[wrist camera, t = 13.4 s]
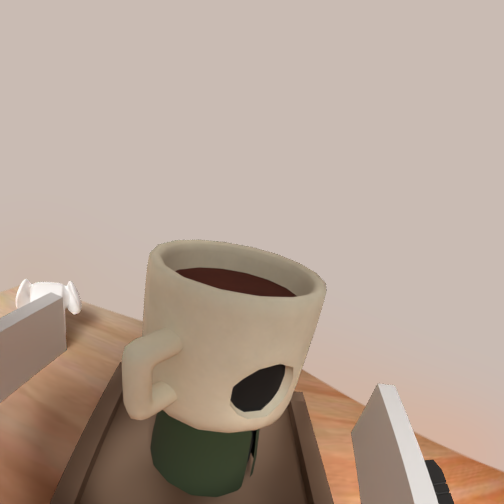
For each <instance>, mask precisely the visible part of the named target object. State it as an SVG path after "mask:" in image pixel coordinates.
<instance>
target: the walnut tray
mask: <svg viewBox="0 0 504 504" xmlns="http://www.w3.org/2000/svg"><path fill="white" fill-rule="evenodd" d="M156 415H157V413H156V414H155V415H153V416H151V417H150V418H147V419H144V420H136V419H131V418H130V416H129V414H128V412H127V410H126V407H125V405H124V402H123V386H122V362H120V364H119V365H118V367H117V369H116V371H115V373H114V374H113V376H112V378H111V380H110V382H109V383H108V385H107V387H106V389H105V391H104V393H103V395H102V396H101V398H100V400H99V402H98V404H97V406H96V408H95V410H94V412H93V414H92V416H91V417H90V419H89V421H88V423H87V425H86V427H85V429H84V431H83V433H82V435H81V437H80V439H79V441H78V443H77V445H76V447H75V450H74V452H73V454H72V456H71V458H70V460H69V462H68V464H67V466H66V468H65V471H64V473H63V475H62V477H61V479H60V482H59V484H58V486H57V488H56V491H55V493H54V495H53V497H52V500H51V502H50V504H334V502H333V499H332V495H331V491H330V488H329V484H328V481H327V477H326V473H325V470H324V466H323V463H322V459H321V456H320V452H319V449H318V445H317V441H316V438H315V434H314V431H313V427H312V424H311V420H310V417H309V413H308V410H307V406H306V403H305V399H304V396H303V392H293V395H292V398H291V400H290V402H289V404H288V406H287V407H286V409H285V411H284V412H283V414H282V415H281V416H280V418H279V419H278V420H276V421H275V422H274V423H273V424H271V425H268V426H266V427H263V428H260V431H259V439H258V448H257V456H256V461H255V465H254V470H253V474H252V475H251V477H250V473H251V469H252V464H253V459H254V458H253V456H252V454H250V458H249V461H248V463H247V467H246V471H245V475H244V479H243V483H242V487H241V488H240V489H239V490H238V491H235V492H232V493H229V494H226V495H223V496H219V497H206V496H194V495H190V494H188V493H186V492H184V491H182V490H181V489H179V488H177V487H175V486H174V485H172V484H170V483H168V482H167V481H166V479H165V478H164V477H163V476H162V475H161V474H160V472H159V471H158V470H157V469H156V468H155V467H154V465H153V460H152V455H151V449H150V447H151V440H152V433H153V428H154V424H155V419H156Z"/></svg>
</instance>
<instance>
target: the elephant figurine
mask: <svg viewBox="0 0 504 504" xmlns="http://www.w3.org/2000/svg"><path fill="white" fill-rule="evenodd" d="M50 292H52V293H54V294H57V295H59V296H61V297H63V311H64V325H65V335H66V322H65V309H66V308H68V310H69V311H70V312H71V313H73V314H74V315H75V314H78V313H80V311H81V307H82V305H81V300H80V296H79V294H78V291H77V289H76V287H75V286H74V284H73V283H72V282H71V281H69V282H68V285H66V286H65V285H63V284H61V283H56V282H37V283H35V284H32V283H30V281H29V280H27V279H24V280H23V281H22V283H21V285H20V287H19V289H18V291H17V295H16V307H17V309H19V308H21V307H22V306H24V305H26V304H28V303H30V302H32V301H34V300H36V299H38V298H40V297H42V296H44V295H46V294H48V293H50Z"/></svg>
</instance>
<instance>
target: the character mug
mask: <svg viewBox="0 0 504 504" xmlns="http://www.w3.org/2000/svg"><path fill="white" fill-rule="evenodd" d="M325 295H326V283H325V282H324V281H323V280H322V279H321V278H320V276H319V275H317V273H315V272H313V271H312V270H310V269H308V268H307V267H305V266H303V265H302V264H300V263H298V262H295V261H293V260H290V259H288V258H285V257H283V256H281V255H278V254H275V253H271V252H267V251H264V250H260V249H257V248H253V247H249V246H243V245H238V244H232V243H227V242H218V241H208V240H175V241H171V242H167V243H163V244H159V245H158V246H157V247H155V249H154V250H152V251H151V252H150V255H149V260H148V265H147V275H146V286H145V298H144V314H143V331H142V337H139V338H137V339H134V340H133V341H132V342H130V343H129V344H128V345H126V346H125V348H124V352H123V355H122V386H123V402H124V405H125V407H126V410H127V412H128V414H129V416H130V418H131V419H136V420H144V419H147V418H150V417H151V416H153V415H155V414H156V413H157V415H156V419H155V424H154V428H153V433H152V440H151V447H150V449H151V455H152V460H153V465H154V467H155V468H156V469H157V470H158V471H159V472H160V474H161V475H162V476H163V477H164V478H165V479H166V481H167V482H168V483H170V484H172V485H174V486H175V487H177V488H179V489H181V490H182V491H184V492H186V493H188V494H190V495H194V496H206V497H219V496H223V495H226V494H229V493H232V492H235V491H238V490H239V489H240V488H241V487H242V483H243V479H244V475H245V471H246V467H247V463H248V461H249V458H250V454H252V456H253V458H254V459H253V464H252V469H251V473H250V477H251V475H252V474H253V470H254V465H255V461H256V456H257V448H258V439H259V431H260V428H263V427H266V426H268V425H271V424H273V423H274V422H275V421H276V420H278V419H279V418H280V416H281V415H282V414H283V412H284V411H285V409H286V407H287V406H288V404H289V402H290V400H291V398H292V395H293V392H294V389H295V387H296V385H297V382H298V379H299V376H300V373H301V370H302V366H303V364H304V361H305V358H306V355H307V352H308V349H309V347H310V344H311V340H312V338H313V334H314V332H315V329H316V326H317V323H318V319H319V316H320V313H321V310H322V306H323V302H324V299H325Z"/></svg>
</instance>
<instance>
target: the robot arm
mask: <svg viewBox="0 0 504 504" xmlns="http://www.w3.org/2000/svg"><path fill="white" fill-rule="evenodd" d="M66 350H67V345H66V336H65V325H64V311H63V297H61V296H59V295H57V294H54V293H52V292H50V293H48V294H46V295H44V296H42V297H40V298H38V299H36V300H34V301H32V302H30V303H28V304H26V305H24V306H22V307H21V308H19V309H17V310H15V311H13V312H11V313H9V314H7V315H5V316H3V317H1V318H0V403H1V402H2V401H3V400H5V399H6V398H7V397H8V396H9V395H11V394H12V393H13V392H14V391H16V390H17V389H18V388H19V387H21V386H22V385H23V384H24V383H25V382H27V381H28V380H29V379H30V378H32V377H33V376H34V375H35V374H37V373H38V372H39V371H40V370H42V369H43V368H44V367H46V366H47V365H48V364H49V363H51V362H52V361H53V360H54V359H56V358H57V357H58V356H60V355H61V354H62V353H63V352H65V351H66ZM351 436H352V442H353V448H354V455H355V462H356V468H357V476H358V483H359V491H360V499H361V504H454V502H453V499H452V496H451V493H449V488H448V485H447V484H446V480H445V477H444V474H443V472H442V470H441V468H440V467H439V466H438V465H437V464H436V463H435V461H434V460H424V458H423V456H422V453H421V450H420V447H419V445H418V442H417V439H416V437H415V434H414V432H413V429H412V426H411V424H410V421H409V419H408V417H407V414H406V411H405V409H404V407H403V404H402V402H401V399H400V397H399V394H398V392H397V390H396V387H395V385H386V384H377V386H376V388H375V390H374V392H373V394H372V395H371V397H370V399H369V401H368V403H367V405H366V407H365V409H364V410H363V412H362V414H361V416H360V418H359V419H358V421H357V423H356V425H355V426H354V428H353V430H352V432H351Z"/></svg>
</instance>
